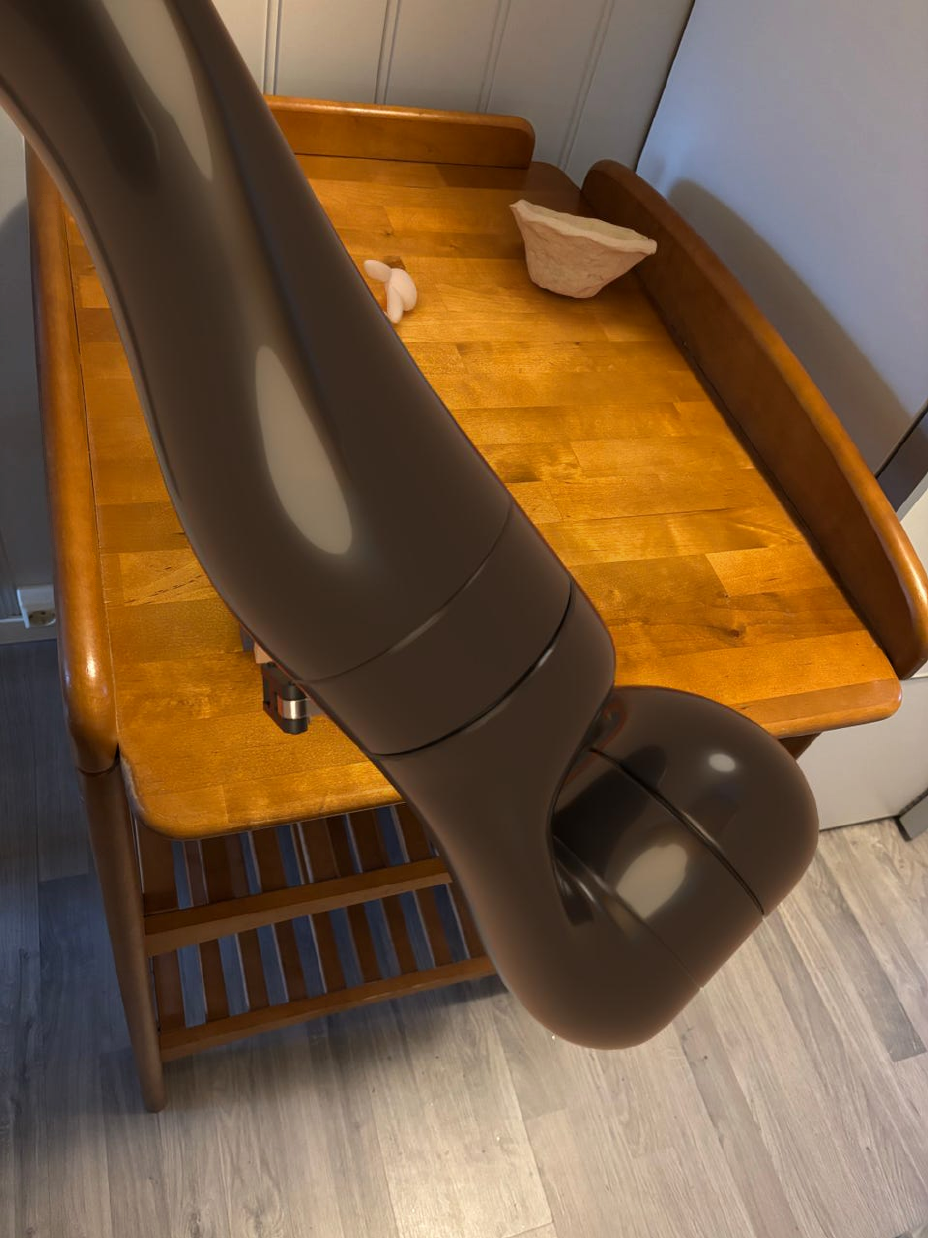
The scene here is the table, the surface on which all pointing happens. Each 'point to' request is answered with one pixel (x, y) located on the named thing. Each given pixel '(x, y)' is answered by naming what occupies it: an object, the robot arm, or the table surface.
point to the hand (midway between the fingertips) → (369, 658)
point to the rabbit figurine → (393, 288)
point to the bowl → (576, 250)
